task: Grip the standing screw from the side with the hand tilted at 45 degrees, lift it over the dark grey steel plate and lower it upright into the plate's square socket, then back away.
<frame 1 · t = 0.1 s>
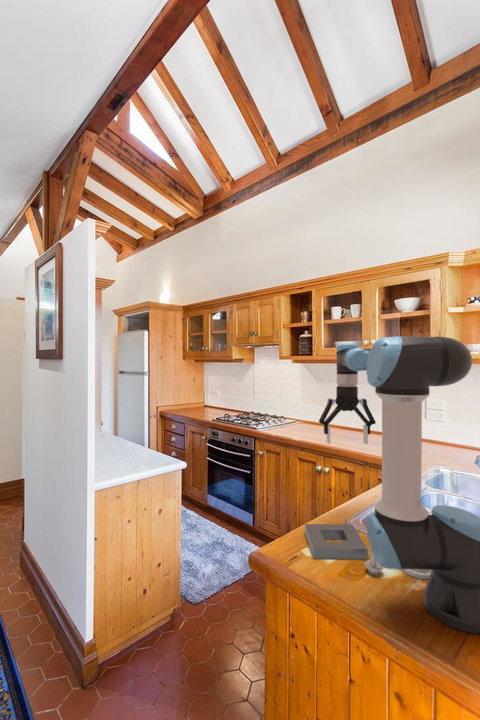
hand: (346, 443, 136), 28 cm above the table, tool pointing down, fingers open, 13 cm apart
screw: (373, 573, 102), on the table
socket plate: (334, 545, 117), on the table
mechanical component: (417, 570, 104), on the table
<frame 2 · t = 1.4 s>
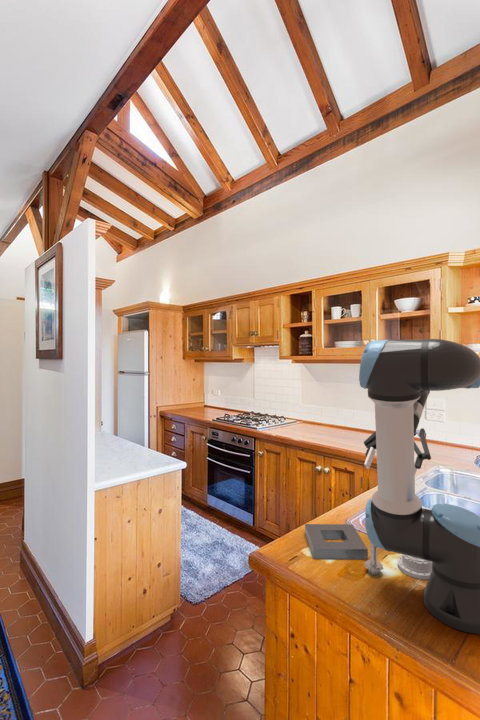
hand: (387, 471, 111), 25 cm above the table, tool tilted 45°, fingers open, 13 cm apart
nothing on the table moved.
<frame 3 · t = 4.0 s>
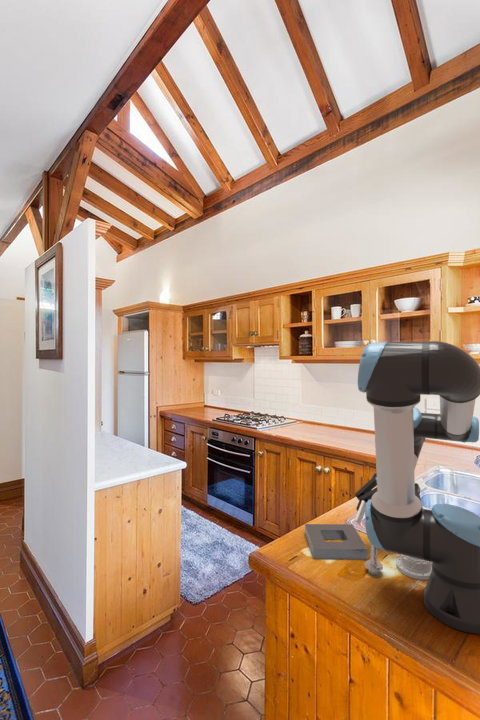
hand: (379, 530, 105), 10 cm above the table, tool tilted 45°, fingers open, 13 cm apart
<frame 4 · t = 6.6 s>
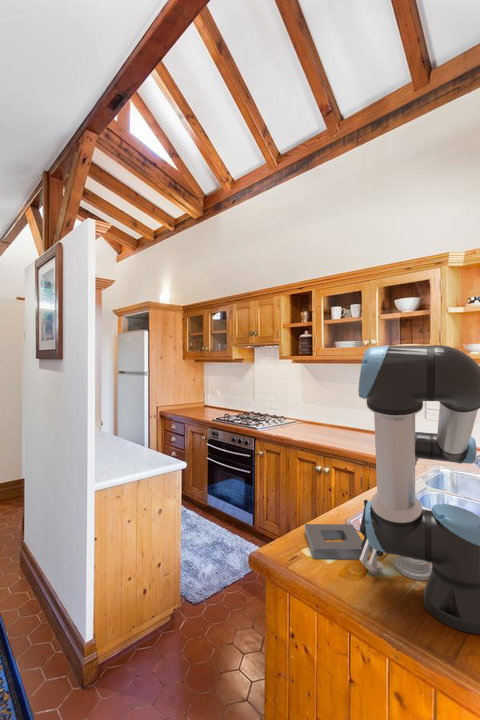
hand: (367, 564, 99), 4 cm above the table, tool tilted 45°, fingers closed on screw, 2 cm apart
screw: (373, 573, 102), on the table, touching gripper
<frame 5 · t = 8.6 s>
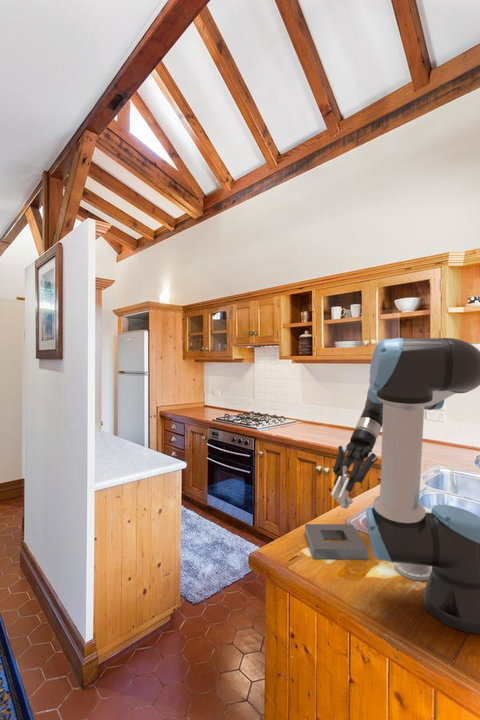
hand: (337, 498, 112), 17 cm above the table, tool tilted 45°, fingers closed on screw, 2 cm apart
screw: (344, 507, 115), point 13 cm above the table, touching gripper
when the fingers open (5 cm above the table, at t = 11.0 s): screw drops 2 cm, resting in socket plate.
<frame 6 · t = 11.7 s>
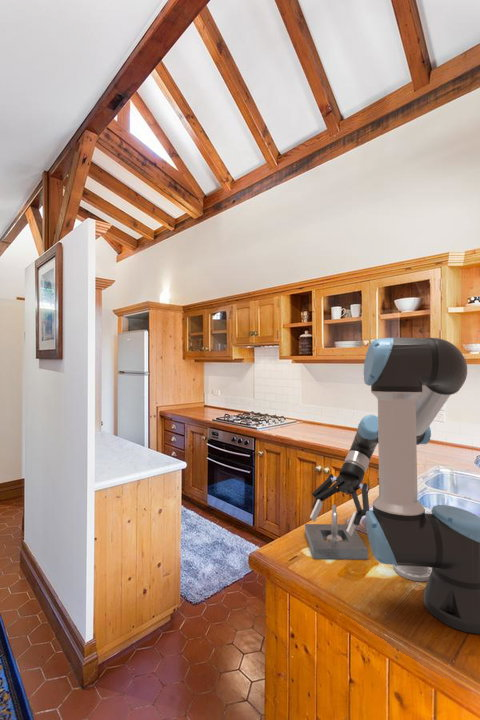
hand: (329, 526, 115), 7 cm above the table, tool tilted 45°, fingers open, 12 cm apart
screw: (334, 545, 117), resting in socket plate
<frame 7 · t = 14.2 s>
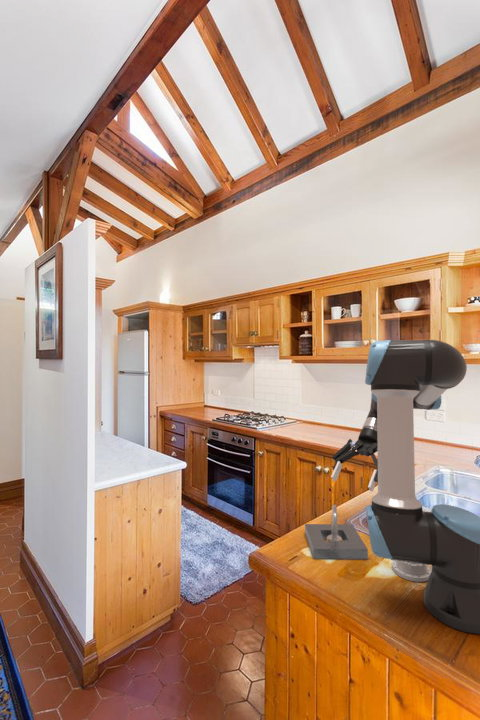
hand: (351, 484, 124), 17 cm above the table, tool tilted 45°, fingers open, 13 cm apart
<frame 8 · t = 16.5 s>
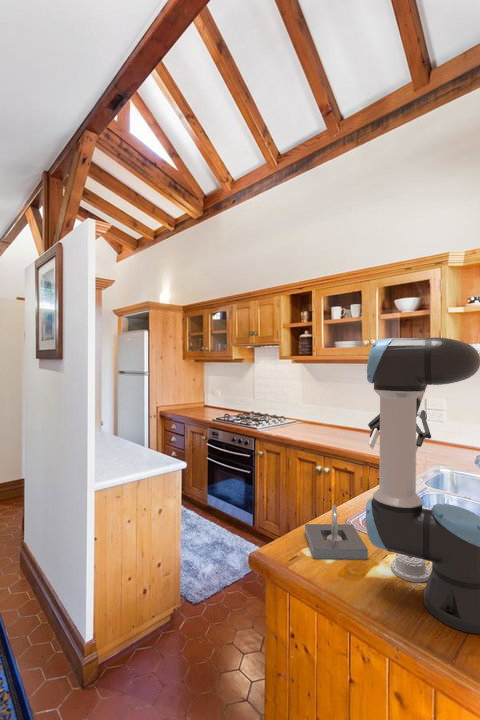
hand: (390, 450, 119), 30 cm above the table, tool tilted 45°, fingers open, 13 cm apart
at the end: screw 0.1 cm off-centre on the socket plate, point 0.0 cm above the socket plate's base; screw tilted 0°; the gripper is holding nothing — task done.
